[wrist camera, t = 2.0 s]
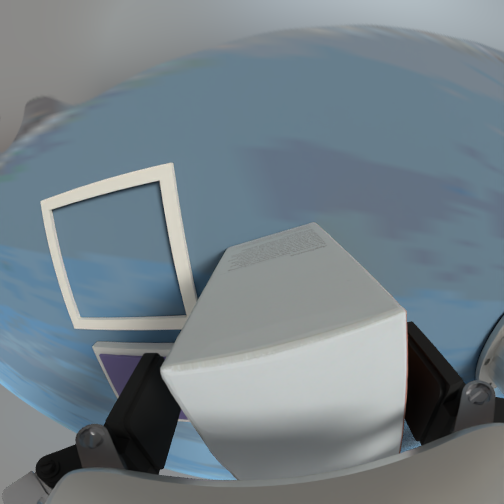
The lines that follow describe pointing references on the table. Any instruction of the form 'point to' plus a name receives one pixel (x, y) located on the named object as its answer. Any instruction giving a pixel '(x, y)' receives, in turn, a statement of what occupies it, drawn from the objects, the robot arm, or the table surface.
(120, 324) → the outlined square
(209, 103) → the table surface
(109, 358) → the ink pad
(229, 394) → the small box
